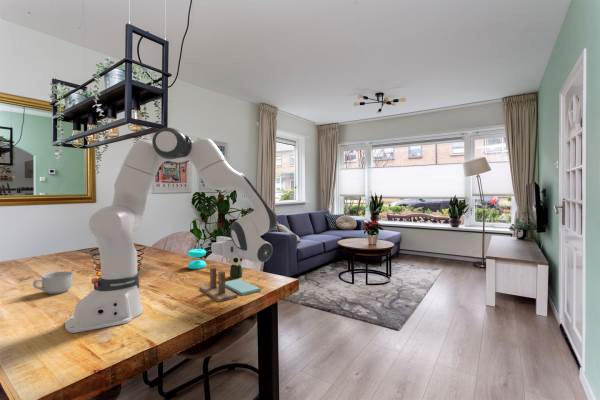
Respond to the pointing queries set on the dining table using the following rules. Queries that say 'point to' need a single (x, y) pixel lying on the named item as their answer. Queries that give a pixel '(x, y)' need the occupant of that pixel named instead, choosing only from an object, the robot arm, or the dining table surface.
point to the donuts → (197, 263)
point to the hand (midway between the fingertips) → (228, 242)
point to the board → (241, 287)
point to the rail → (222, 238)
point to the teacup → (55, 282)
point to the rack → (218, 287)
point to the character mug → (235, 266)
